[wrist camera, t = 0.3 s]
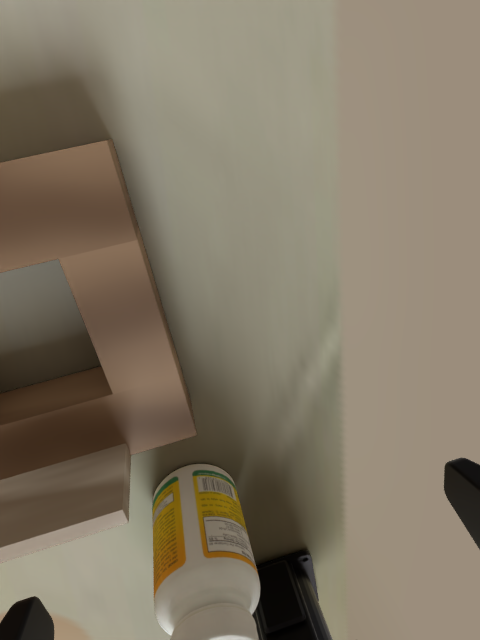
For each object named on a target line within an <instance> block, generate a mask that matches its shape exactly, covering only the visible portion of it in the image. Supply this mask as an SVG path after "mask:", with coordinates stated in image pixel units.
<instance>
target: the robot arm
mask: <svg viewBox="0 0 480 640" xmlns="http://www.w3.org/2000/svg"><path fill="white" fill-rule="evenodd" d="M444 490H445V494H446V496H447V498H448V500H449V502H450V503H451V505H452V506H453V508H454V509H455V511H456V513H457V514H458V516H459V517H460V519H461V521H462V522H463V524H464V525H465V527H466V529H467V530H468V532H469V533H470V535H471V537H472V538H473V540H474V541H475V543H476V544H477V546H478V548H479V549H480V465H479V464H477V463H475V462H472V461H470V460H468V459H466V458H459V459H455V460H452V461H449V462H447V463H446V465H445V473H444ZM256 568H257V572H258V576H259V581H260V598H259V602H258V605H257V607H256V609H255V611H254V613H253V614H252V616H253V618H254V620H255V623H256V628H257V633H258V638H259V640H332V637H331V635H330V632H329V629H328V627H327V624H326V621H325V619H324V616H323V613H322V611H321V608H320V605H319V603H318V601H319V599H318V593H317V587H316V582H315V576H314V570H313V564H312V559H311V556H310V553H309V551H307V550H304V551H300V552H297V553H294V554H291V555H288V556H286V557H283V558H280V559H277V560H274V561H271V562H268V563H265V564H262V565H259V566H256ZM0 640H54V624H53V620H52V618H51V616H50V615H49V613H48V612H47V610H46V609H45V607H44V605H43V604H42V602H41V601H40V599H39V598H37V597H35V596H34V597H30V598H27V599H24V600H21V601H18V602H16V603H15V604H14V605H13V606H12V607H11V608H10V609H9V611H8V612H7V614H6V615H5V617H4V618H3V620H2V621H1V623H0Z"/></svg>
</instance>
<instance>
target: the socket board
mask: <svg viewBox="0 0 480 640" xmlns="http://www.w3.org/2000/svg"><path fill="white" fill-rule="evenodd" d="M56 259H59V261H60V264H61V266H62V269H63V271H64V274H65V276H66V279H67V281H68V284H69V286H70V289H71V291H72V294H73V296H74V299H75V301H76V304H77V306H78V309H79V311H80V314H81V316H82V318H83V321H84V323H85V326H86V328H87V331H88V333H89V336H90V338H91V341H92V343H93V346H94V348H95V351H96V353H97V356H98V358H99V361H100V363H101V366H100V367H96V368H93V369H89V370H85V371H82V372H78V373H74V374H71V375H67V376H63V377H59V378H56V379H52V380H48V381H45V382H41V383H37V384H34V385H30V386H26V387H23V388H19V389H15V390H12V391H8V392H4V393H1V394H0V563H3V562H6V561H9V560H12V559H16V558H19V557H22V556H25V555H28V554H31V553H34V552H38V551H41V550H44V549H47V548H50V547H53V546H57V545H60V544H63V543H66V542H69V541H72V540H76V539H79V538H82V537H85V536H88V535H91V534H95V533H98V532H101V531H104V530H107V529H110V528H113V527H117V526H120V525H123V524H126V523H129V494H130V465H131V455H133V454H136V453H140V452H143V451H146V450H150V449H153V448H157V447H160V446H163V445H167V444H170V443H173V442H177V441H180V440H183V439H187V438H190V437H193V436H197V432H196V427H195V421H194V416H193V410H192V405H191V400H190V397H189V393H188V390H187V387H186V383H185V380H184V377H183V374H182V370H181V367H180V364H179V360H178V357H177V354H176V350H175V347H174V344H173V340H172V337H171V334H170V330H169V327H168V324H167V320H166V317H165V314H164V310H163V307H162V304H161V300H160V297H159V294H158V290H157V287H156V284H155V280H154V277H153V274H152V270H151V267H150V264H149V260H148V257H147V254H146V250H145V247H144V244H143V240H142V237H141V234H140V230H139V227H138V224H137V220H136V217H135V214H134V210H133V207H132V204H131V200H130V197H129V194H128V190H127V187H126V184H125V180H124V177H123V174H122V170H121V167H120V164H119V160H118V157H117V154H116V150H115V147H114V144H113V140H112V139H110V140H105V141H100V142H96V143H91V144H86V145H81V146H77V147H72V148H67V149H62V150H58V151H53V152H48V153H43V154H39V155H34V156H29V157H24V158H19V159H15V160H10V161H5V162H0V273H1V272H6V271H10V270H14V269H18V268H22V267H26V266H31V265H35V264H39V263H43V262H47V261H51V260H56Z"/></svg>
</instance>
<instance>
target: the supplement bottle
mask: <svg viewBox="0 0 480 640" xmlns="http://www.w3.org/2000/svg"><path fill="white" fill-rule="evenodd" d="M152 511H153V561H154V609H155V615H156V618H157V620H158V622H159V624H160V626H161V627H162V628H163V630H164V631H165V632H167V633H168V634H169V635H171V639H170V640H259V638H258V633H257V628H256V623H255V620H254V618H253V616H252V614H253V613H254V611H255V609H256V607H257V605H258V602H259V598H260V581H259V576H258V572H257V568H256V564H255V560H254V556H253V553H252V549H251V545H250V541H249V537H248V533H247V529H246V525H245V521H244V517H243V513H242V509H241V505H240V502H239V497H238V493H237V490H236V486H235V483H234V481H233V479H232V478H231V476H230V475H229V474H228V473H227V472H225V471H224V470H222V469H221V468H219V467H216V466H213V465H209V464H193V465H188V466H185V467H182V468H179V469H177V470H175V471H174V472H172V473H171V474H169V475H168V476H167V477H166V478H165V479H164V480H163V481H162V482H161V483H160V485H159V486H158V487H157V489H156V491H155V494H154V497H153V508H152Z"/></svg>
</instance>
